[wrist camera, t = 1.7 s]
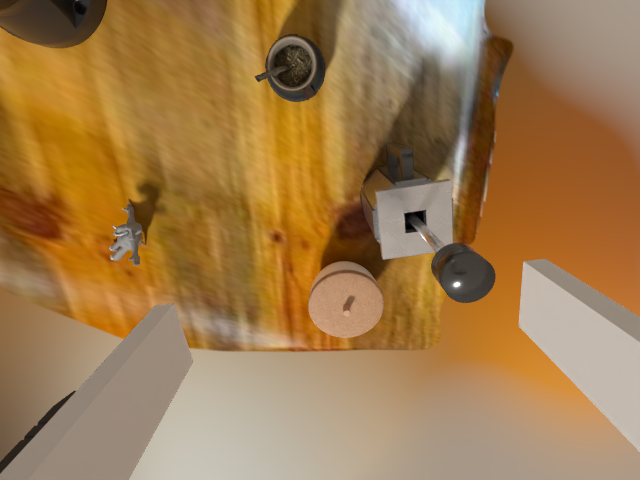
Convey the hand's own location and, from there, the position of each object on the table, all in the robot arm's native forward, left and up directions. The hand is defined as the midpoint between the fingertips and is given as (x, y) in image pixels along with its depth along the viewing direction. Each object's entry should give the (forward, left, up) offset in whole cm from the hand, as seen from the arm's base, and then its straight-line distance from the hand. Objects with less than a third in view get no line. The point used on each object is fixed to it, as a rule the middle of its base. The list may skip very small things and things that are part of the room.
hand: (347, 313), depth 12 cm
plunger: (+5, +9, -28) cm, 30 cm away
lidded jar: (+18, 0, -37) cm, 41 cm away
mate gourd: (-13, -2, -37) cm, 39 cm away
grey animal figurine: (+6, -30, -37) cm, 48 cm away
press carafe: (+4, +9, -37) cm, 38 cm away
